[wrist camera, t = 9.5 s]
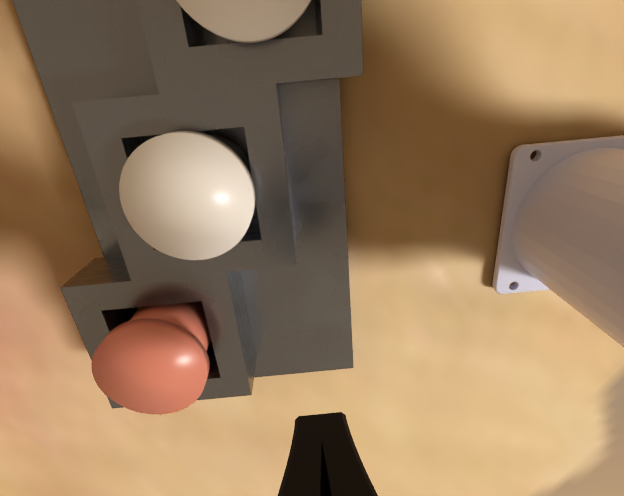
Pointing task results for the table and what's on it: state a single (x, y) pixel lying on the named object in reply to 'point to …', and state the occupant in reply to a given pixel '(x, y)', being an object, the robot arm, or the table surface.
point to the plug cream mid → (188, 194)
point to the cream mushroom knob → (245, 17)
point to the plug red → (155, 359)
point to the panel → (240, 130)
